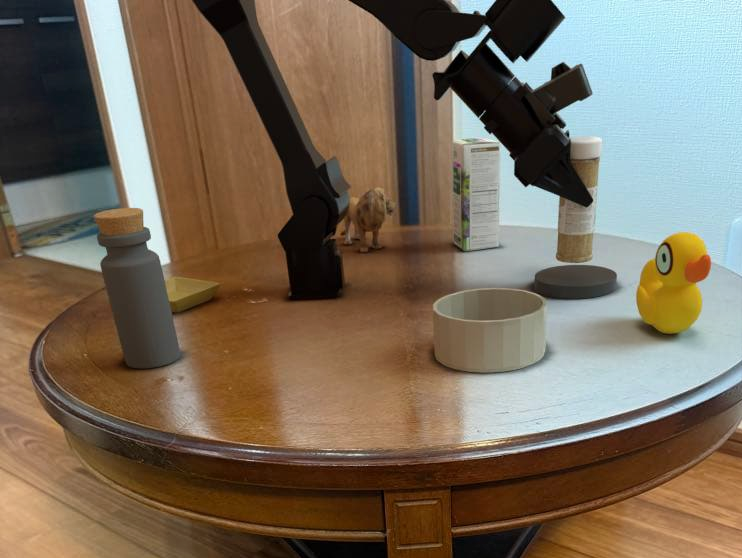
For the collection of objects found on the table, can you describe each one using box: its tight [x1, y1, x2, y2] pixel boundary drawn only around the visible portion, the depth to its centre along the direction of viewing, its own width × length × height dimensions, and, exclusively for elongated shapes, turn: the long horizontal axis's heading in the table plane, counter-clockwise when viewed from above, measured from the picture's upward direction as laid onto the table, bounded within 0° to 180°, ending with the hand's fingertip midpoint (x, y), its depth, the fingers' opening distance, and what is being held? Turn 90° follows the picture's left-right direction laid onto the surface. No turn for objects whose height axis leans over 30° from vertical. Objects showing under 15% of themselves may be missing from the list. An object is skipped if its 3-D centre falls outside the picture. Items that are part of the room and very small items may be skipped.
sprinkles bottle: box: [555, 135, 603, 264], centre depth 94 cm, size 5×5×13 cm
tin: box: [432, 287, 548, 374], centre depth 81 cm, size 11×11×5 cm
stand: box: [533, 264, 618, 300], centre depth 99 cm, size 10×10×2 cm
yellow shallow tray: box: [164, 276, 221, 314], centre depth 104 cm, size 9×9×2 cm
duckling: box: [635, 231, 712, 335], centre depth 81 cm, size 11×5×10 cm, turn 11°
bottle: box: [93, 207, 181, 369], centre depth 82 cm, size 6×6×15 cm
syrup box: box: [452, 137, 501, 252], centre depth 118 cm, size 6×6×14 cm
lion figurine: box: [339, 187, 397, 253], centre depth 123 cm, size 15×5×9 cm, turn 33°
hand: (589, 200), depth 94 cm, fingers closed on sprinkles bottle, 4 cm apart
